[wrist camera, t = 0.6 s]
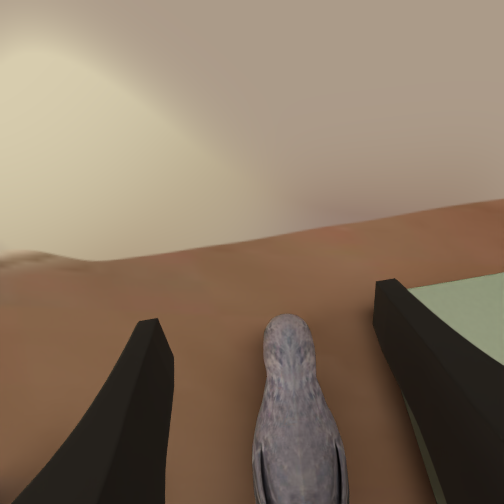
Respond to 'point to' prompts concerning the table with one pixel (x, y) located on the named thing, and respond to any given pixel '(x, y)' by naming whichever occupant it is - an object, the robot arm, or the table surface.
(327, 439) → the bird
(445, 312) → the shelf
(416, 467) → the table surface
